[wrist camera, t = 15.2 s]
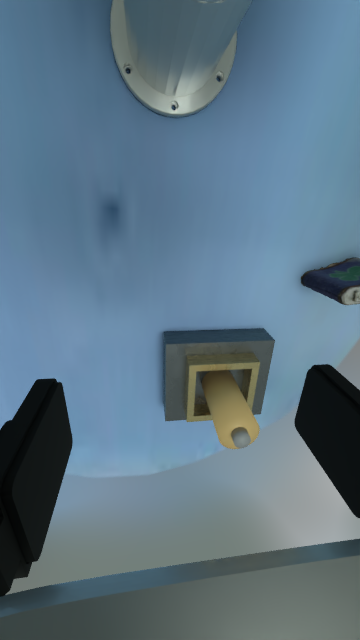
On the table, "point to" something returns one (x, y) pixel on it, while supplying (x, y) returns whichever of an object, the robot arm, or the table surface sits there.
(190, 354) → the grey square socket base
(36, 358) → the table surface
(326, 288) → the wallet
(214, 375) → the cylinder
